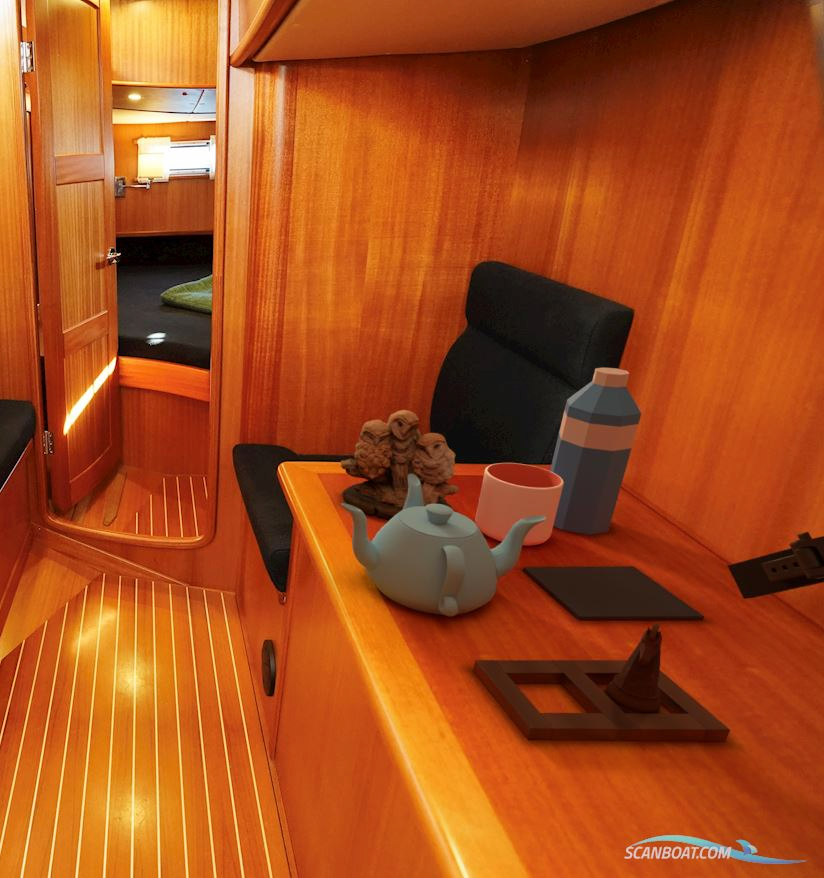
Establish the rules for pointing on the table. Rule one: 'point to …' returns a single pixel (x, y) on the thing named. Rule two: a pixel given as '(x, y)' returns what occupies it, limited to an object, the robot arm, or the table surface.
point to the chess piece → (639, 677)
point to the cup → (518, 500)
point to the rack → (594, 704)
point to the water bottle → (594, 451)
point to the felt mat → (611, 594)
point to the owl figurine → (398, 465)
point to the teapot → (435, 555)
